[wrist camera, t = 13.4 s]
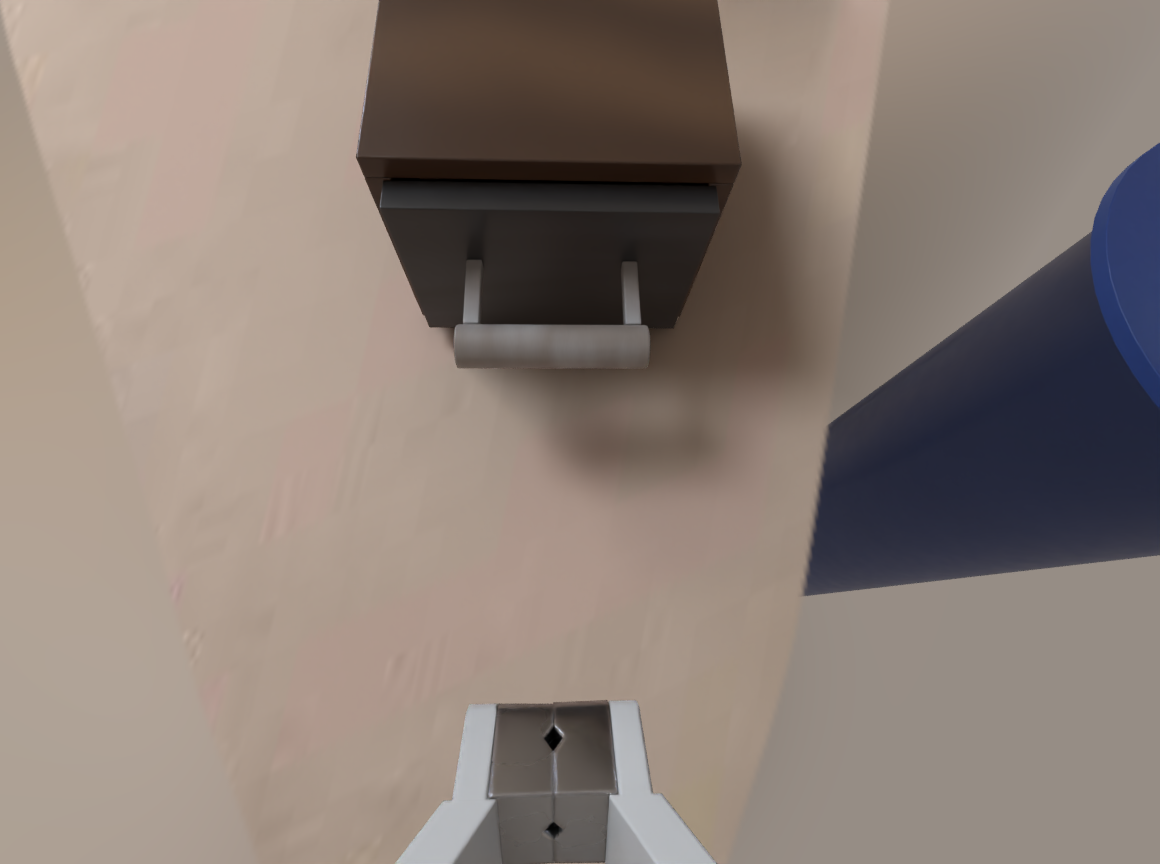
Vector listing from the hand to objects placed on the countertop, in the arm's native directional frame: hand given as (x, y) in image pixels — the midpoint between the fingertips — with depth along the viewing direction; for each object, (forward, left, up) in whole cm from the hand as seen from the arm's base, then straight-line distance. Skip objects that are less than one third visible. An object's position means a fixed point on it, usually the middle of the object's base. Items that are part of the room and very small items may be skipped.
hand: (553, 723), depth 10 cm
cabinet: (0, -24, -13) cm, 27 cm away
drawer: (0, -20, -12) cm, 23 cm away
